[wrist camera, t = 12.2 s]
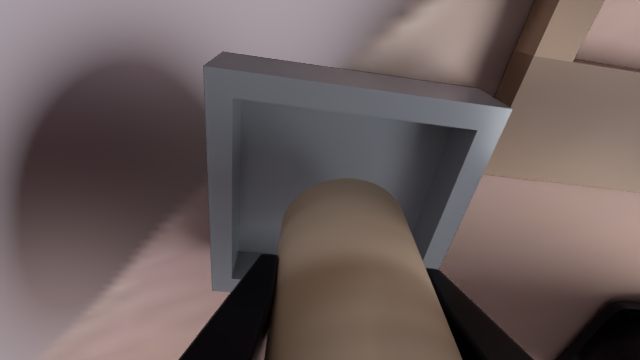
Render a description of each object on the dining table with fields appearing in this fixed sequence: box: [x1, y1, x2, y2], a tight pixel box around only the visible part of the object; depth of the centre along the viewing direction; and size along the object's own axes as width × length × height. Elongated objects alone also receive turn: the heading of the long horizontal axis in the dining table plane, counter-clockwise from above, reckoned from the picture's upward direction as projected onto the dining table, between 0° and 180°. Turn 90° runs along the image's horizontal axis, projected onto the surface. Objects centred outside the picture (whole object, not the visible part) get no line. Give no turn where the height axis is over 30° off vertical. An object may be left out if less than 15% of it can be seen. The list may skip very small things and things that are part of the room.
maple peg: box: [264, 178, 462, 360], centre depth 7 cm, size 4×4×6 cm
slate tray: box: [203, 52, 513, 292], centre depth 11 cm, size 8×8×2 cm
